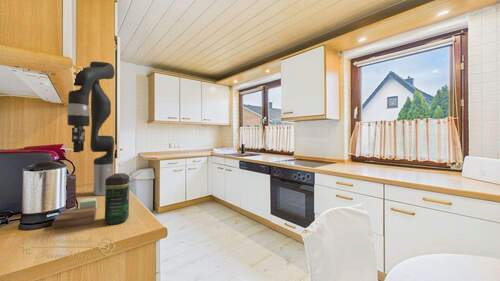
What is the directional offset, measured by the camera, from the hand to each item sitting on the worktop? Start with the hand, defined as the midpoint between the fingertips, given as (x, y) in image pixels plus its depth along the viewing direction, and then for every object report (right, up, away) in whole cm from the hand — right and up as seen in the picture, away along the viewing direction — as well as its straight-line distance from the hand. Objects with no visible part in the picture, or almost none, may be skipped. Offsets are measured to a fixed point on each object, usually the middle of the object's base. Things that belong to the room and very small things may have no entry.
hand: (78, 151), depth 92 cm
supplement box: (-8, -26, +1) cm, 28 cm away
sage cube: (+5, -27, -1) cm, 27 cm away
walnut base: (+7, -27, -10) cm, 30 cm away
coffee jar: (+23, -27, -9) cm, 37 cm away
